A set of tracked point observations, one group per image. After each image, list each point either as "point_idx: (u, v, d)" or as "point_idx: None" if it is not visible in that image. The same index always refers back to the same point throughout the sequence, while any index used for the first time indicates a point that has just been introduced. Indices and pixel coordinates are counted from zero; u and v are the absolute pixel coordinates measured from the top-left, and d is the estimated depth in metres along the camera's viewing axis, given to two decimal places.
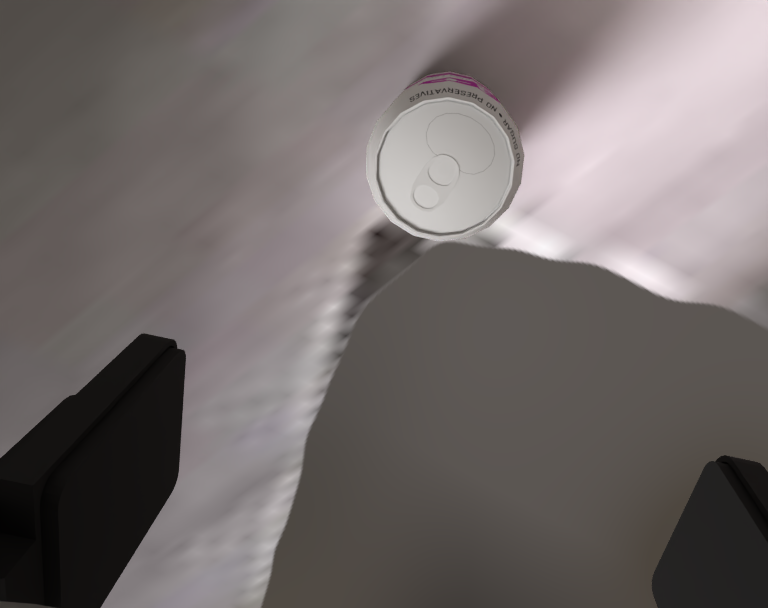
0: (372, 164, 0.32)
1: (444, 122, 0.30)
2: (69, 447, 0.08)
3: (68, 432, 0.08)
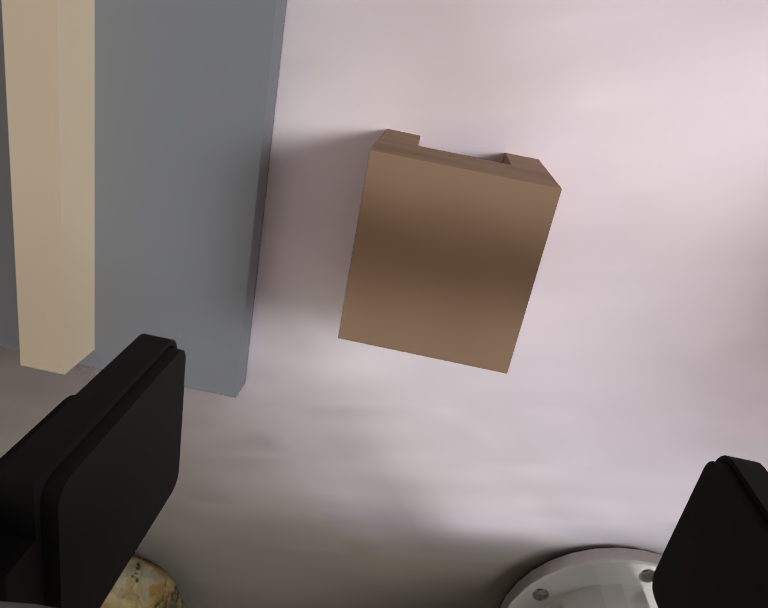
0: None
1: None
2: (69, 447, 0.08)
3: (68, 432, 0.08)
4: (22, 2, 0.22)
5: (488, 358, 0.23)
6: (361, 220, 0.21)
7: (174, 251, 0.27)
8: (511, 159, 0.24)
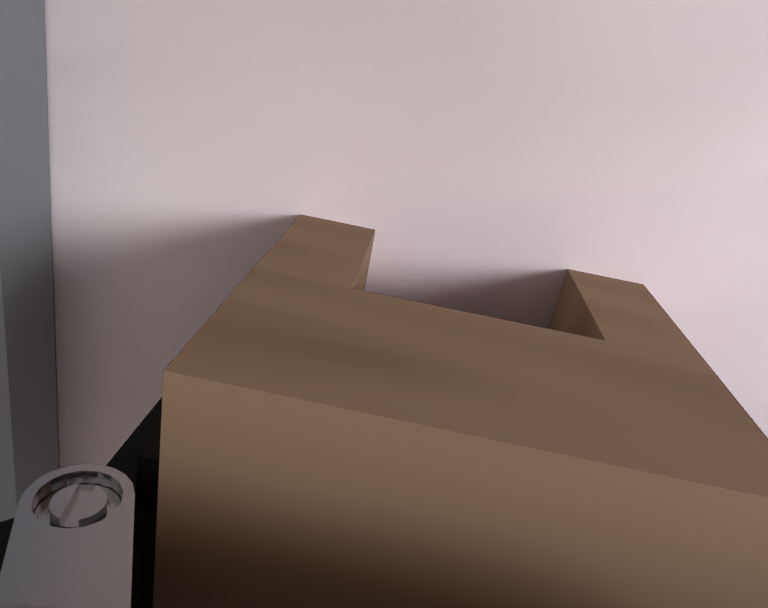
0: None
1: None
2: None
3: None
4: None
5: None
6: (165, 557, 0.07)
7: None
8: (592, 303, 0.10)
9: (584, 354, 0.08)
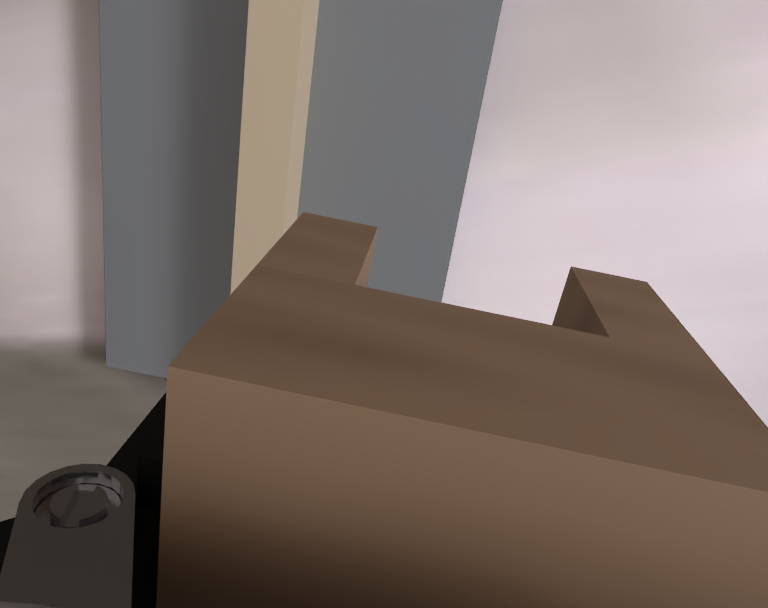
0: None
1: None
2: None
3: None
4: (265, 63, 0.23)
5: None
6: (169, 554, 0.07)
7: None
8: (596, 300, 0.10)
9: (588, 351, 0.08)
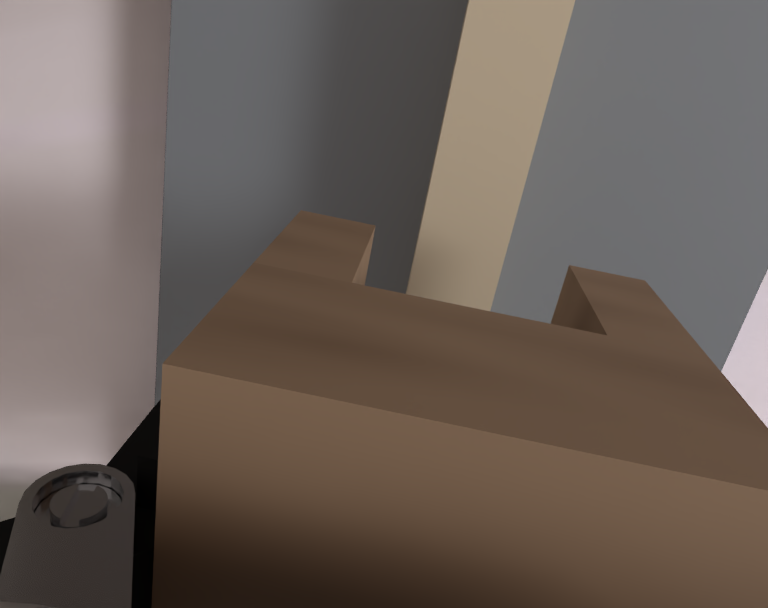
0: None
1: None
2: None
3: None
4: (483, 107, 0.13)
5: None
6: (164, 553, 0.07)
7: None
8: (594, 298, 0.10)
9: (586, 349, 0.08)
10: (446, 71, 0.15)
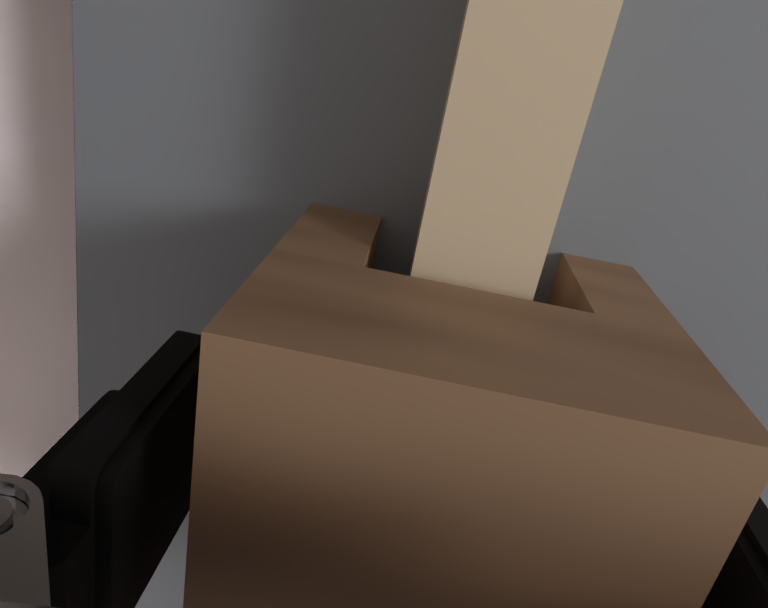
0: None
1: None
2: (120, 438, 0.08)
3: (118, 424, 0.08)
4: (494, 130, 0.09)
5: None
6: (199, 503, 0.08)
7: None
8: (584, 282, 0.11)
9: (575, 324, 0.09)
10: (443, 77, 0.11)
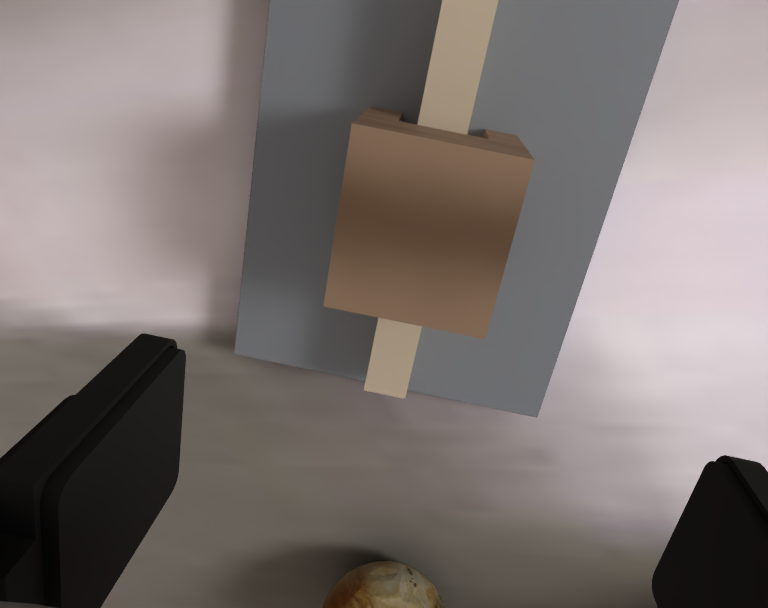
0: None
1: None
2: (69, 447, 0.08)
3: (68, 432, 0.08)
4: (449, 66, 0.24)
5: (467, 325, 0.24)
6: (344, 191, 0.22)
7: (507, 284, 0.30)
8: (490, 134, 0.25)
9: (479, 139, 0.24)
10: (430, 47, 0.26)
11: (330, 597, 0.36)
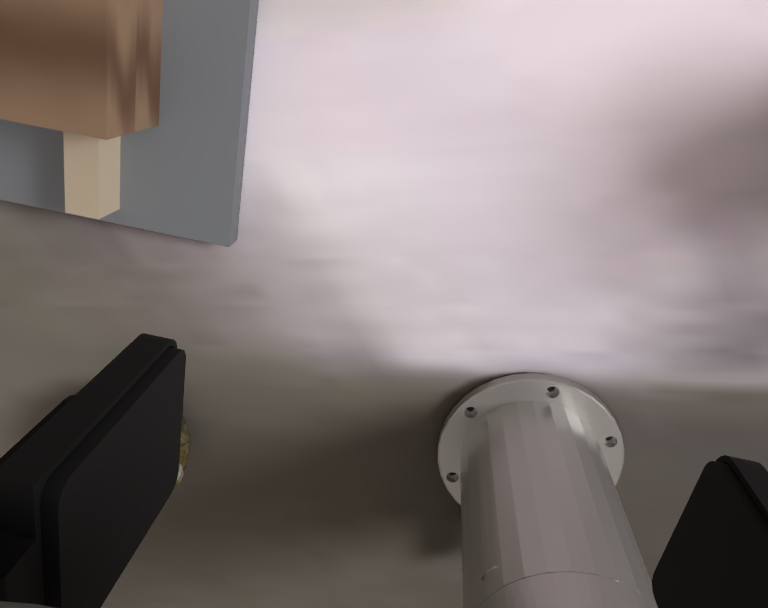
0: None
1: None
2: (70, 447, 0.08)
3: (68, 432, 0.08)
4: None
5: (90, 127, 0.31)
6: None
7: (181, 125, 0.36)
8: None
9: None
10: None
11: None
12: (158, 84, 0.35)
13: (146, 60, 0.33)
